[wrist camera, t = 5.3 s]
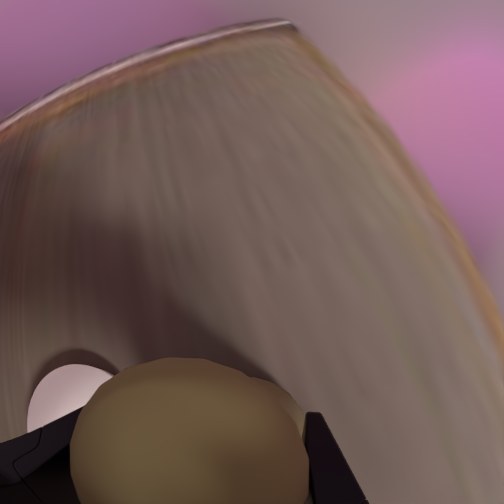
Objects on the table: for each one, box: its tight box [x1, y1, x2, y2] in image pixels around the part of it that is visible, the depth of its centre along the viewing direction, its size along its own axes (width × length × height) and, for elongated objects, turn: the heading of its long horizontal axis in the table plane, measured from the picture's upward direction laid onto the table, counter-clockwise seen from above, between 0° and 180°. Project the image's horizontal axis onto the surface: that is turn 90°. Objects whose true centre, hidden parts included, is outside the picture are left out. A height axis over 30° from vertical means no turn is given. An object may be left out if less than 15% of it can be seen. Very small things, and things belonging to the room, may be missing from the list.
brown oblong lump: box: [70, 357, 309, 504], centre depth 9 cm, size 6×6×11 cm
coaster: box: [27, 364, 114, 433], centre depth 14 cm, size 9×9×1 cm
